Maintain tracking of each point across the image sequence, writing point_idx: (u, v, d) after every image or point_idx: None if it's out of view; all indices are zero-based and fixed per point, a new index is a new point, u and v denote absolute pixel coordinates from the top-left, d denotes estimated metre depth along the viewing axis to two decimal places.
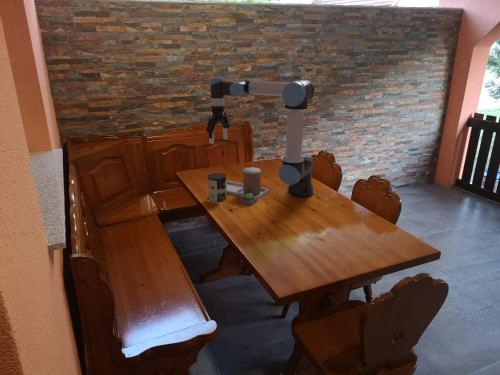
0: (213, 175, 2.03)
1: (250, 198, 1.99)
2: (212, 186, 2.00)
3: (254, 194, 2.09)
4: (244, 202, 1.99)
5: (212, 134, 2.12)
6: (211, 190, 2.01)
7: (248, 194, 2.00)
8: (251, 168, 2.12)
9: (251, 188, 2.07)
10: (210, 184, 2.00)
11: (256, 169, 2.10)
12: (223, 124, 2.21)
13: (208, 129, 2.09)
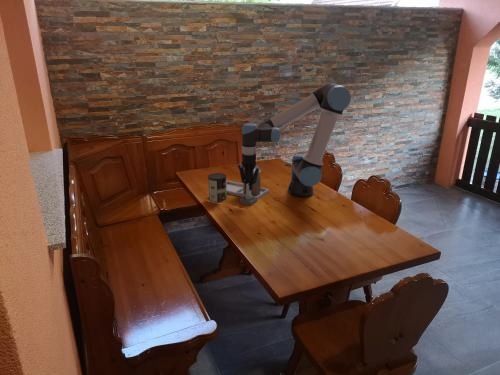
0: (213, 175, 2.04)
1: (250, 199, 2.00)
2: (212, 186, 2.00)
3: (254, 194, 2.09)
4: (244, 202, 1.99)
5: None
6: (211, 190, 2.01)
7: None
8: None
9: None
10: (210, 184, 2.00)
11: None
12: None
13: None
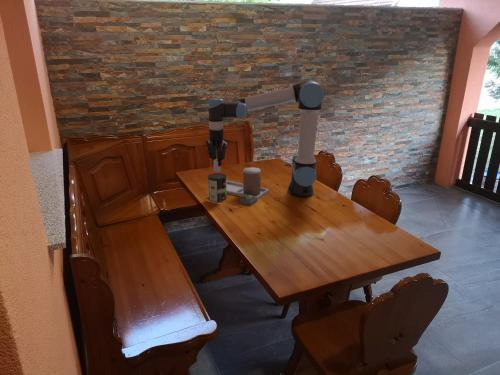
0: (213, 175, 2.04)
1: (250, 200, 2.00)
2: (212, 186, 2.00)
3: (254, 194, 2.09)
4: (244, 202, 1.99)
5: (213, 161, 1.99)
6: (211, 190, 2.01)
7: (248, 195, 2.01)
8: (251, 168, 2.12)
9: (251, 188, 2.07)
10: (210, 184, 2.00)
11: (256, 169, 2.10)
12: None
13: None
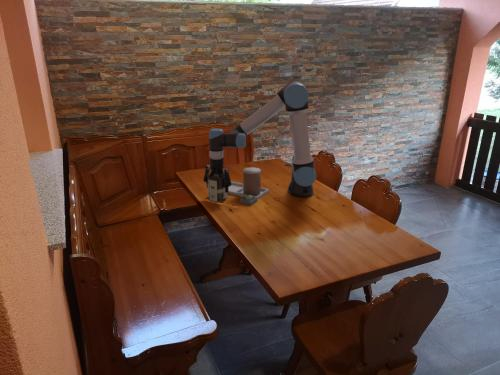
0: (213, 175, 2.03)
1: (250, 200, 2.00)
2: (212, 186, 2.00)
3: (254, 194, 2.09)
4: (244, 202, 1.99)
5: None
6: (211, 190, 2.01)
7: (248, 195, 2.01)
8: (251, 168, 2.12)
9: (251, 188, 2.07)
10: (210, 184, 2.00)
11: (256, 169, 2.10)
12: None
13: None
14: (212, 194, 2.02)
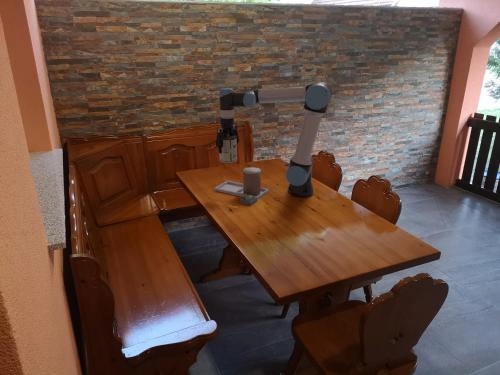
0: None
1: (250, 200, 2.00)
2: (234, 145, 2.04)
3: (254, 194, 2.09)
4: (244, 202, 1.99)
5: (222, 149, 2.02)
6: (233, 150, 2.04)
7: (248, 195, 2.01)
8: (251, 168, 2.12)
9: (251, 188, 2.07)
10: (232, 144, 2.03)
11: (256, 169, 2.10)
12: None
13: (217, 144, 2.00)
14: (234, 153, 2.05)
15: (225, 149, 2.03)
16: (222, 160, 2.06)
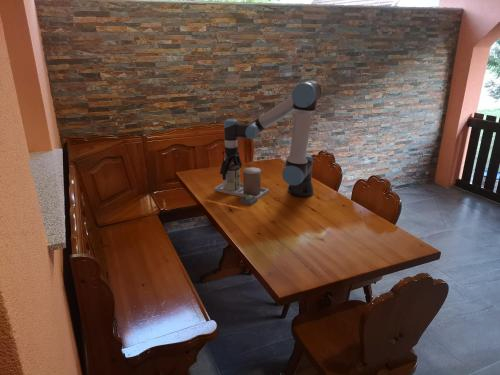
0: (229, 167, 2.13)
1: (250, 200, 2.00)
2: (238, 175, 2.15)
3: (254, 194, 2.09)
4: (244, 202, 1.99)
5: (226, 176, 2.11)
6: (238, 179, 2.15)
7: (248, 195, 2.01)
8: (251, 168, 2.12)
9: (251, 188, 2.07)
10: (237, 174, 2.13)
11: (256, 169, 2.10)
12: None
13: (222, 171, 2.08)
14: (238, 182, 2.16)
15: (230, 179, 2.13)
16: (227, 189, 2.16)
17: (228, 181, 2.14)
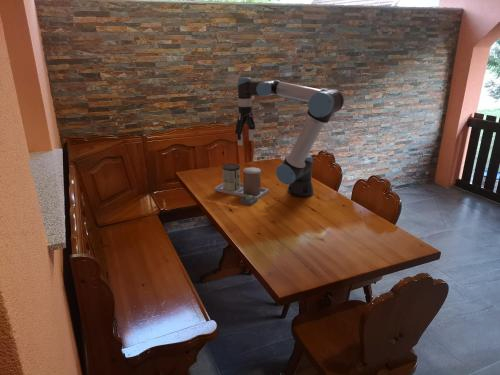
0: (229, 167, 2.13)
1: (250, 200, 2.00)
2: (238, 175, 2.15)
3: (254, 194, 2.09)
4: (244, 202, 1.99)
5: (241, 135, 2.07)
6: (237, 179, 2.15)
7: (248, 195, 2.01)
8: (251, 168, 2.12)
9: (251, 188, 2.07)
10: (237, 174, 2.13)
11: (256, 169, 2.10)
12: (249, 125, 2.16)
13: (237, 130, 2.04)
14: (238, 182, 2.16)
15: (230, 179, 2.13)
16: (227, 189, 2.16)
17: (228, 181, 2.14)
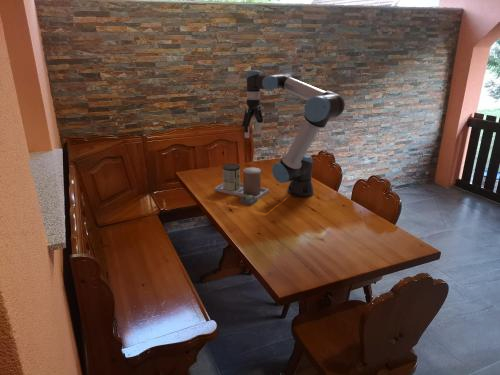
0: (229, 167, 2.13)
1: (250, 200, 2.00)
2: (238, 175, 2.15)
3: (254, 194, 2.09)
4: (244, 202, 1.99)
5: (248, 128, 2.09)
6: (238, 179, 2.15)
7: (248, 195, 2.01)
8: (251, 168, 2.12)
9: (251, 188, 2.07)
10: (237, 174, 2.13)
11: (256, 169, 2.10)
12: (257, 118, 2.18)
13: (245, 123, 2.06)
14: (238, 182, 2.16)
15: (230, 179, 2.13)
16: (227, 189, 2.16)
17: (228, 181, 2.14)
